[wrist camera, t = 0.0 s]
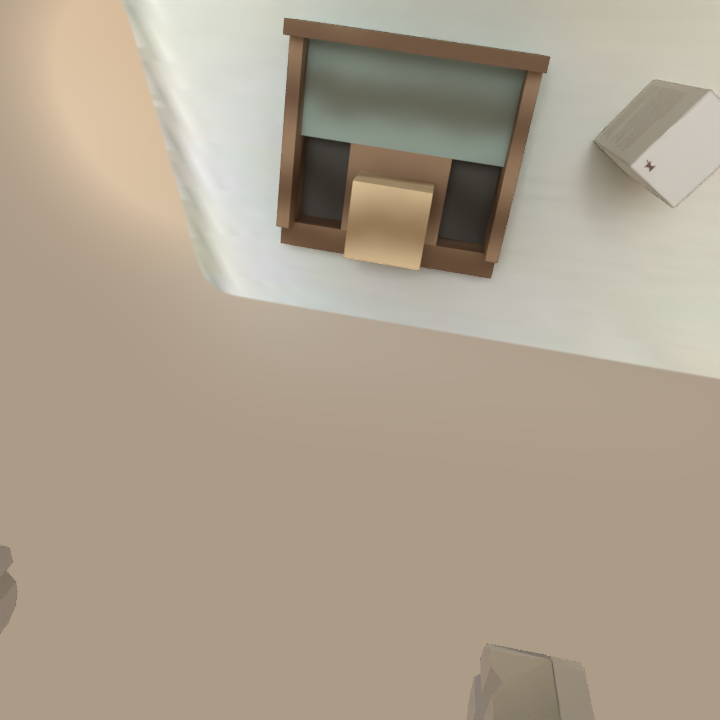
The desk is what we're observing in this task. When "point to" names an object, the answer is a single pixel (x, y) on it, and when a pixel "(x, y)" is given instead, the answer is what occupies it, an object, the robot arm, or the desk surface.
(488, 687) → the robot arm
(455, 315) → the desk surface
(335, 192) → the box
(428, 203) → the maple block
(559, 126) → the desk surface
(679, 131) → the skincare box
